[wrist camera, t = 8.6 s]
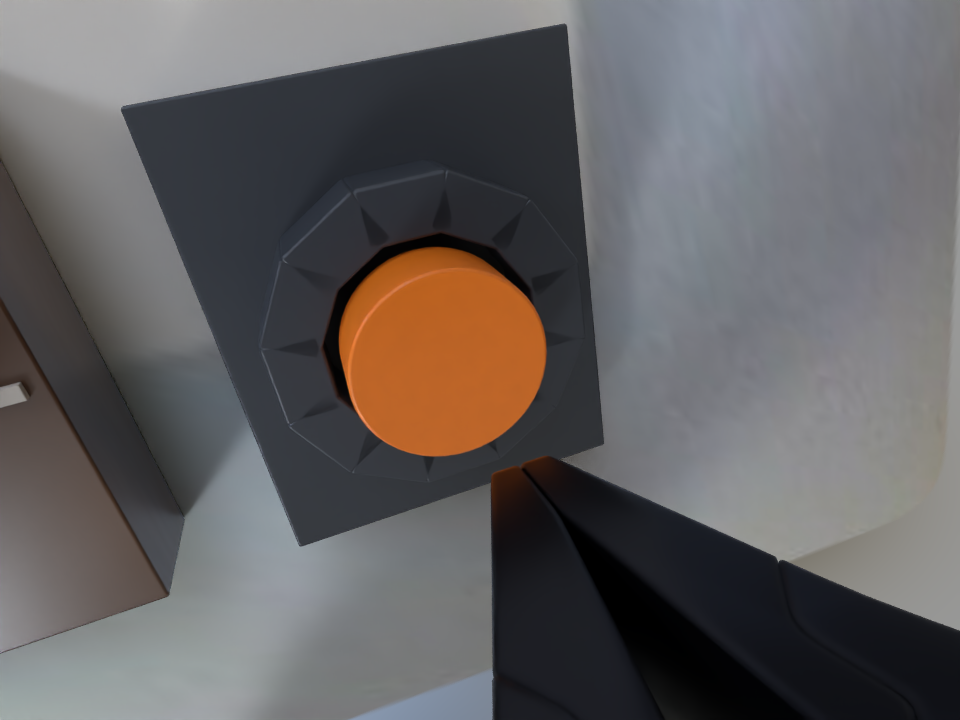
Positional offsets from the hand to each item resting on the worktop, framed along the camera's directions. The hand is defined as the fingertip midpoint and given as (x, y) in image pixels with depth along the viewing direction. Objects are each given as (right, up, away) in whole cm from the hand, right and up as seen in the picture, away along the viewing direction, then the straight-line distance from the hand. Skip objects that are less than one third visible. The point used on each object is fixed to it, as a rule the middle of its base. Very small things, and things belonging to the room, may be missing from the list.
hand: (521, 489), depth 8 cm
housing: (-3, +4, +8) cm, 9 cm away
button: (-2, +2, +5) cm, 6 cm away
